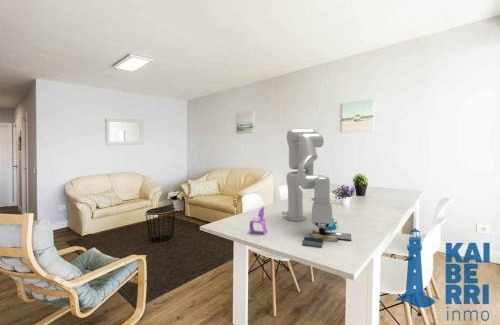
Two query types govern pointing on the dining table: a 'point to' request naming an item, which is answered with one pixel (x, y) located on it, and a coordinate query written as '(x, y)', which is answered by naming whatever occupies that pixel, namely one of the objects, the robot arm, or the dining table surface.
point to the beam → (324, 236)
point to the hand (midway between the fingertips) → (322, 235)
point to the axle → (339, 235)
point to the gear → (332, 225)
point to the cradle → (312, 242)
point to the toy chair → (259, 221)
